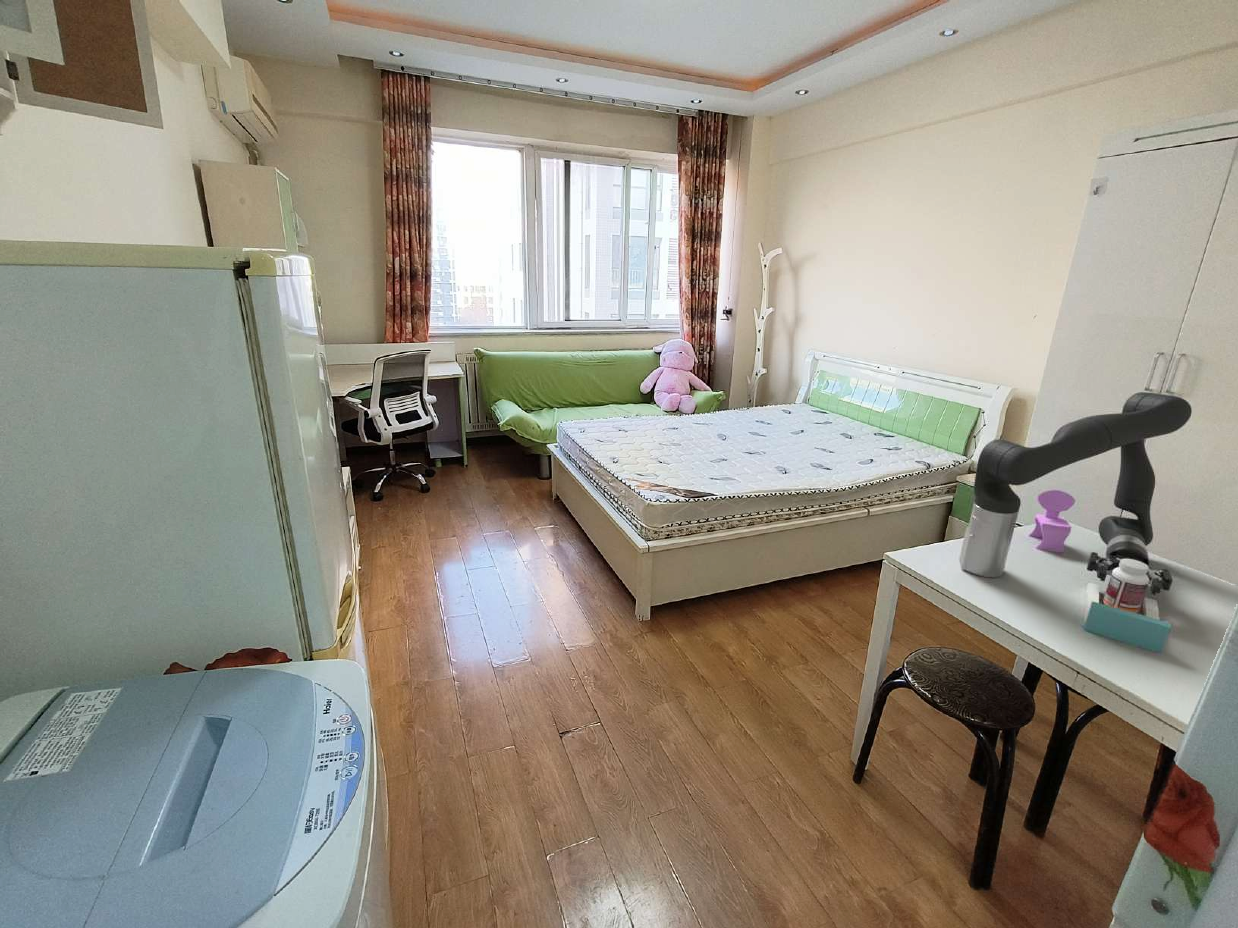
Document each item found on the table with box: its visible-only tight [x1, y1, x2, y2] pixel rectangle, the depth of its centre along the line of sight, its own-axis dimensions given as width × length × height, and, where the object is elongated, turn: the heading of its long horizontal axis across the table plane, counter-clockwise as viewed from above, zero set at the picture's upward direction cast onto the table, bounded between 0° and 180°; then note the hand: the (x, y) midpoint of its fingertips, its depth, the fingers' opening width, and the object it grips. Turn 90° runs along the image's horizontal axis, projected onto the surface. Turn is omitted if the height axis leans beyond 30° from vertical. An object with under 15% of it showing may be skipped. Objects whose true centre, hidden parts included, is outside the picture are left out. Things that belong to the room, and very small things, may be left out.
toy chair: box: [1028, 489, 1076, 553], centre depth 152 cm, size 8×9×15 cm
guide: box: [1083, 582, 1171, 654], centre depth 122 cm, size 20×12×6 cm, turn 141°
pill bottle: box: [1103, 559, 1149, 614], centre depth 124 cm, size 6×6×11 cm
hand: (1128, 583), depth 123 cm, fingers open, 8 cm apart
